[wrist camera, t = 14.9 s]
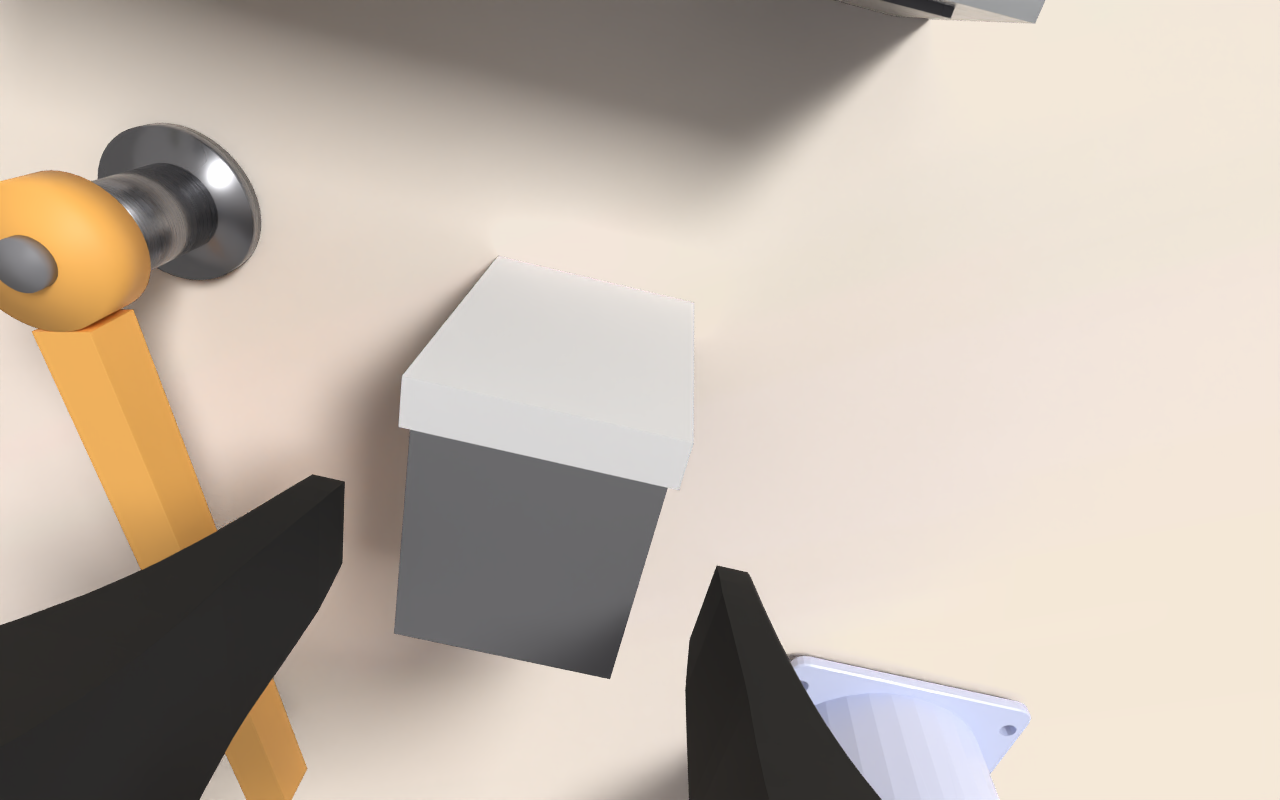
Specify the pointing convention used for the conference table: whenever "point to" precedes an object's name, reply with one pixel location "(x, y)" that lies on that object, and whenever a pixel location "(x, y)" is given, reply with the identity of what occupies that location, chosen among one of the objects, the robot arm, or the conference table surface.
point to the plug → (541, 463)
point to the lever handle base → (183, 199)
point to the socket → (957, 9)
